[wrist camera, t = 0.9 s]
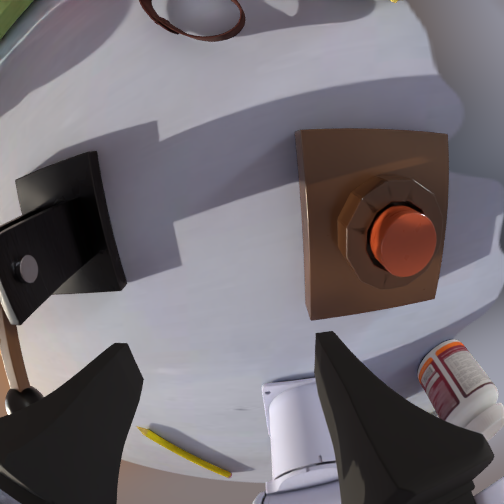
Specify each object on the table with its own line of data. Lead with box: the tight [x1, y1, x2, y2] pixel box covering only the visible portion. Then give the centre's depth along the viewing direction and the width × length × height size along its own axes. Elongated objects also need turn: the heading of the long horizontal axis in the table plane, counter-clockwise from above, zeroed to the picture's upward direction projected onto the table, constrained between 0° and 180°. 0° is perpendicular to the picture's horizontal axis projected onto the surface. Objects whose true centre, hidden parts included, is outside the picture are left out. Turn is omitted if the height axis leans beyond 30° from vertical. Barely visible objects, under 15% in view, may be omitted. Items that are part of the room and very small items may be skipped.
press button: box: [369, 205, 436, 277], centre depth 14 cm, size 4×4×2 cm
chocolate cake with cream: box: [139, 0, 245, 42], centre depth 11 cm, size 8×5×4 cm, turn 50°
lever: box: [0, 302, 44, 415], centre depth 10 cm, size 11×3×3 cm, turn 7°
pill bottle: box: [418, 339, 504, 441], centre depth 18 cm, size 6×6×11 cm
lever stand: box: [0, 151, 127, 325], centre depth 14 cm, size 10×8×10 cm
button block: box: [295, 128, 449, 321], centre depth 16 cm, size 12×10×4 cm
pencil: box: [137, 426, 232, 478], centre depth 29 cm, size 16×1×1 cm
